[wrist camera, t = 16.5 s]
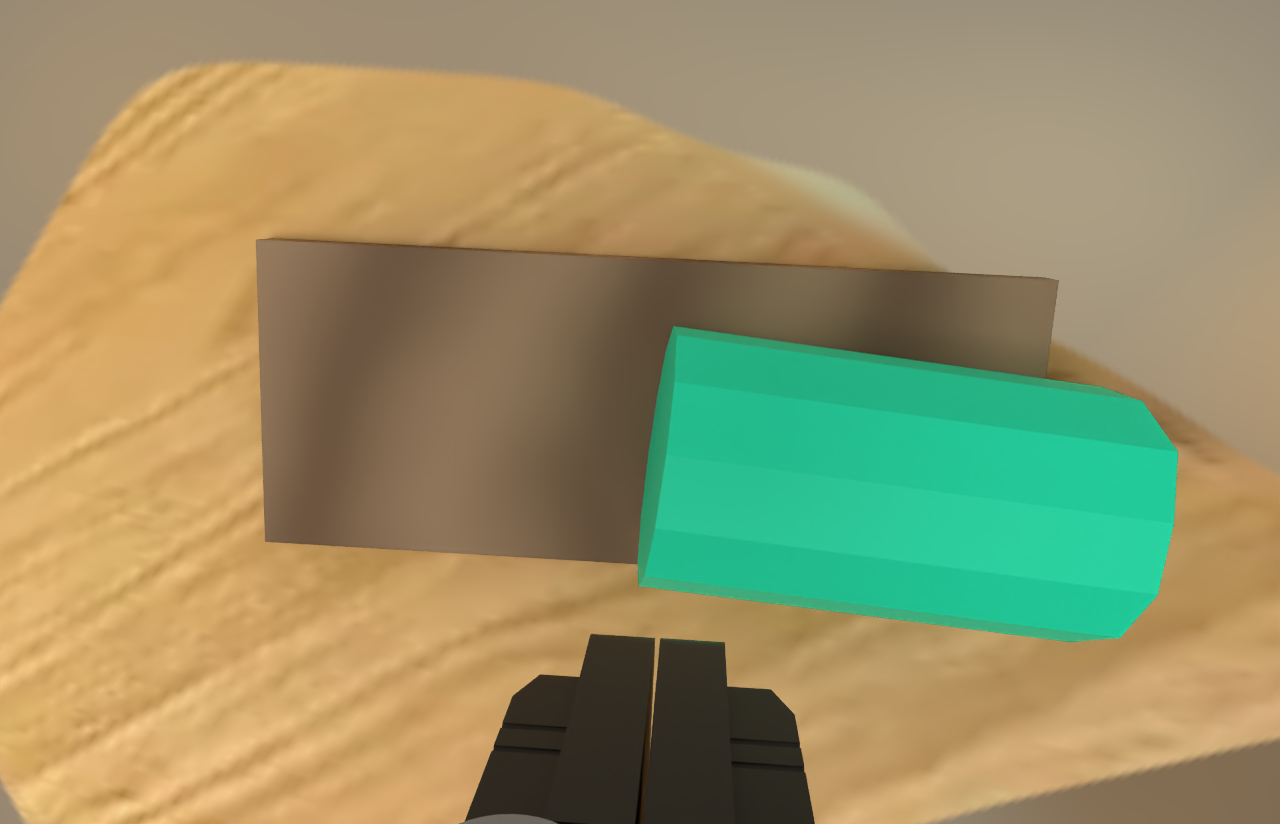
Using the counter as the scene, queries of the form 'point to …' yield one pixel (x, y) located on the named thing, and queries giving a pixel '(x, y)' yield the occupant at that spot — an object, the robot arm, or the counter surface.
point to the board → (546, 379)
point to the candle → (903, 489)
